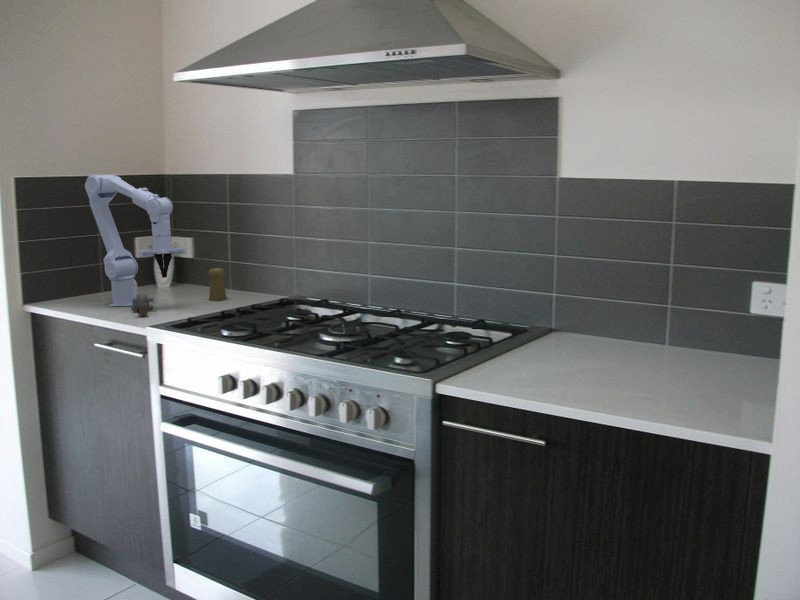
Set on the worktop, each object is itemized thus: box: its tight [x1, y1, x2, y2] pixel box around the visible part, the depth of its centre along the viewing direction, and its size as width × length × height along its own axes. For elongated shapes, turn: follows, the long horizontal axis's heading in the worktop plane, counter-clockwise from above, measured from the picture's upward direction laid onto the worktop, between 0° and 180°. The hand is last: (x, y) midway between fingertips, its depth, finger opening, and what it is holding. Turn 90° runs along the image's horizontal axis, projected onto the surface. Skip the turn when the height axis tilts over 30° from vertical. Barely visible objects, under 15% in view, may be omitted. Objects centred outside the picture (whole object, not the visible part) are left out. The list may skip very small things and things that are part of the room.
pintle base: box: [130, 304, 154, 312], centre depth 262 cm, size 7×7×4 cm
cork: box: [208, 267, 228, 302], centre depth 277 cm, size 6×6×11 cm
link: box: [136, 293, 150, 316], centre depth 256 cm, size 18×4×6 cm, turn 19°
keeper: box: [132, 296, 155, 314], centre depth 258 cm, size 3×6×4 cm, turn 109°
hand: (164, 277), depth 261 cm, fingers closed
